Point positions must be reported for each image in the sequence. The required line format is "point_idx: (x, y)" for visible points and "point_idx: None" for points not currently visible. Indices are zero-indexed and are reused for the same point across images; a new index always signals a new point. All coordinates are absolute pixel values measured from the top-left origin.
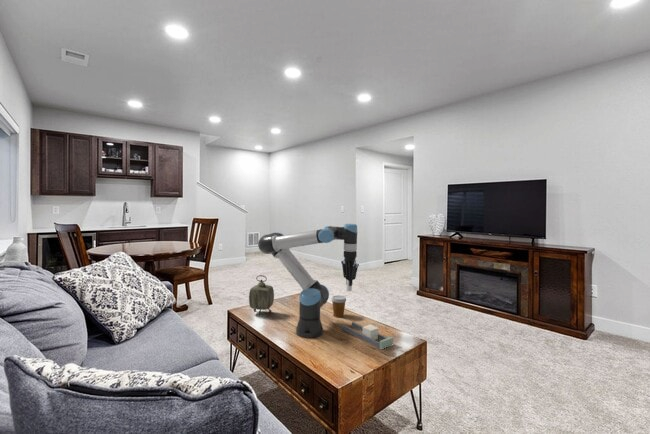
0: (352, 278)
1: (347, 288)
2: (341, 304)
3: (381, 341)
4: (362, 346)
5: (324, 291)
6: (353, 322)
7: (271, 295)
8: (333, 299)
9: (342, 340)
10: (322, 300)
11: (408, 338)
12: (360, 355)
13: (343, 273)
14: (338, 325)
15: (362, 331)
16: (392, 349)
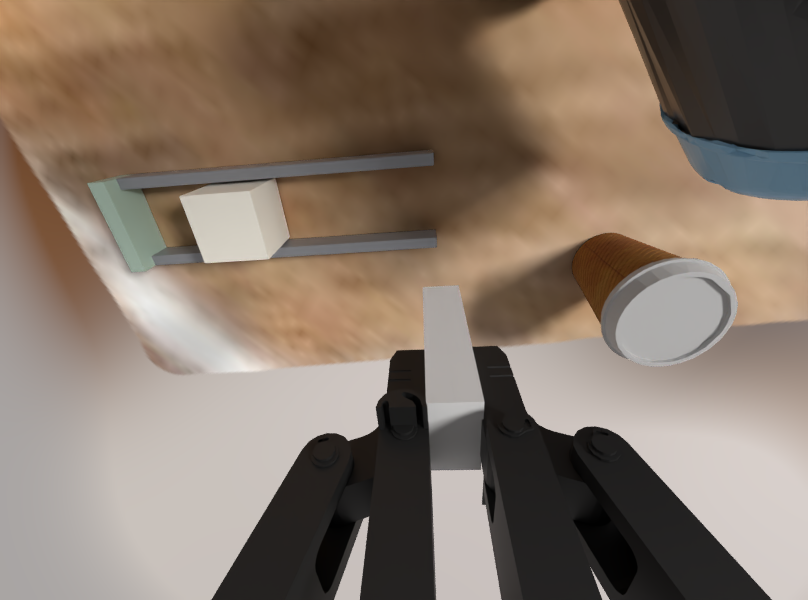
0: (290, 474)
1: (439, 305)
2: (604, 292)
3: (95, 185)
4: (181, 105)
5: (784, 45)
6: (427, 243)
7: None
8: (690, 267)
9: (293, 39)
10: None
11: (203, 353)
12: (72, 6)
13: (698, 533)
14: (491, 168)
15: (259, 184)
16: None
